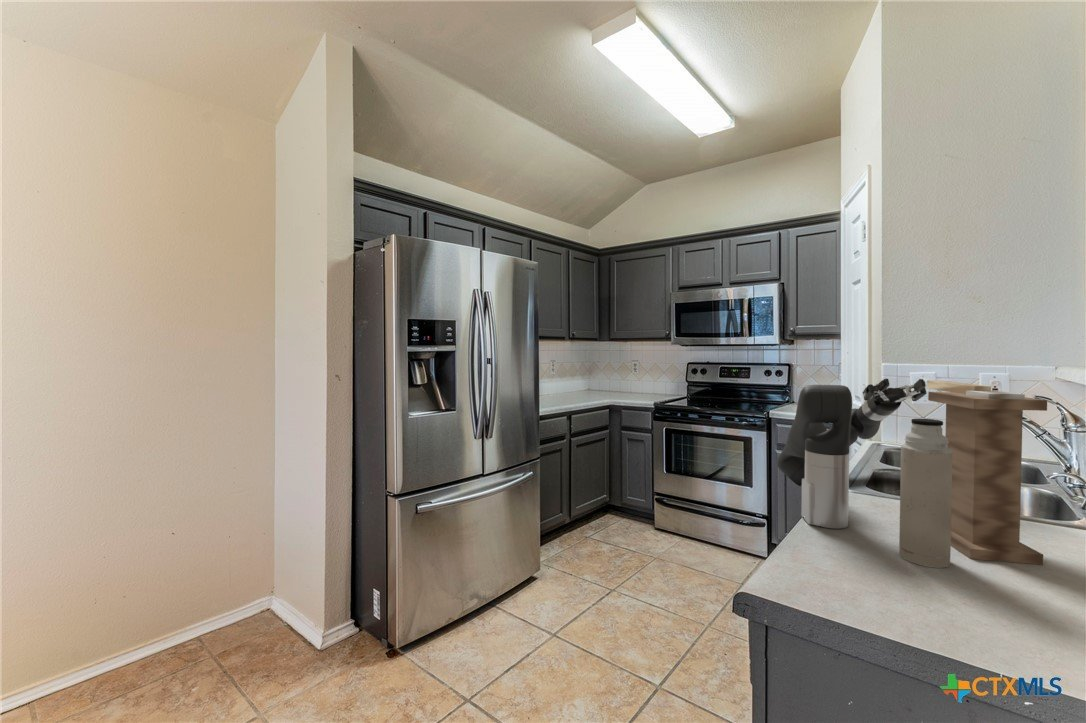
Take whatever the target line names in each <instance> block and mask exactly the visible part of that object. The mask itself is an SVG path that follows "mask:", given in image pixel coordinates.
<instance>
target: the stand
mask: <svg viewBox="0 0 1086 723" xmlns="http://www.w3.org/2000/svg"><path fill="white" fill-rule="evenodd" d="M927 394H928V395H927V396H928V397H927V401H929V402H934V403H939V404H940V403H941V404H945V433H944V434H945V435H944V436H945V437H947V438H948V441H949V443H948V448H949V449H951V450H952V452H953V453H952V501H951V548H953V549H955V550H956V551H957V552H959V553H961V554H962V555H964V556H966V557H967V558H968V559H969V560H980V561H982V560H983V561H994V562H1004V563H1005V562H1007V563H1018V564H1029V565H1031V564H1032V565H1041V566H1043V565H1044V554H1043V553H1041V552H1040V551H1038V550H1036V549H1034V548H1032V547H1030V546H1028V545H1026V544H1024V543H1023V542H1020V539H1021V538H1020V535H1021V532H1020V529H1021V500H1022V499H1021V497H1022V496H1021V495H1022V494H1021V493H1022V491H1021V490H1022V459H1023V458H1022V456H1023V455H1022V453H1023V452H1022V451H1023V416H1024V415H1023V414H1024V411H1040V412H1041V411H1048V400H1047V399H1041V398H1033V397H1025V399H987V398H980V397H973V396H967V395H966V394H961V393H954V392H947V391H928V393H927Z"/></svg>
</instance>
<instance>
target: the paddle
mask: <svg viewBox="0 0 1086 723" xmlns="http://www.w3.org/2000/svg"><path fill="white" fill-rule="evenodd" d="M926 389H929V390H935V391H939V392H954V393H961V394H966V395H967V396H973V397H980V398H987V399H1025V396H1026V395H1025V394H1024V393H1016V392H1009V391H1001V390H992V386H991V385H983V384H975V383H968V382H967V383H965V382H956V381H948V380H947V381H946V380H932V379H930V380H926Z"/></svg>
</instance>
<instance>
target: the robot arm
mask: <svg viewBox="0 0 1086 723" xmlns="http://www.w3.org/2000/svg"><path fill="white" fill-rule="evenodd" d="M926 387H927V383H926V381H925V380H924V378H919V379H917V381H915V383H913V384H912V385H902V386H899V387H890V381H889V379H888V378H884V379H882V380H880V381H879V383H875V385H873V384H868V385H867V386H866V387H865V389H863V390H862V396H863V400H864V402H863V403H862V404H861V405H860V406H859V407H858V408H857V407H856V408H853V396H852V392H851V390H850V388H849V387H848V386H846V385H841V384H809V385H805V386H803V388H802V389H801V390H800V393H799V395H798V400H797V407H796V410H795V417H794V420H793V422H792V423H791V427H790V429H789V432H788V434H787V439H786V441H785V445H784V447H783V448H782V449H781V452H780V454H779V456H778V457H777V460H776V466H777V467H778V469H779V471H780V472H782V473H783V474H784V475H785V476H786V477H787V478H788V479H790V480H791V481H792V482H793V483H794V484H796V485H797V486H799V487H801V507H800V508H801V510H800V511H801V517H802V518H803V517H804V516H805V517H804V518H803V520H805V521H806V523H807V524H808V525H813V526H817V527H820V526H821V527H822V528H826V529H846V528H847V527H848V526H849V518H850V517H849V516H850V515H849V510H850V509H849V507H850V506H849V504H850V503H849V499H850V497H849V494H850V446H851V445H853V444H855V442H857V440H858V438H860V439H861V440H869V439H872V438H873V437H874V436H875V435H876V434H878V432H879V429H880V427H881V423H882V421H883V420H884V419H887V418H888V417H890V415H893V414H894V412H895V411H897V410H898V409H899V408H900V407H901V404H902V402H903V401H906V400H907V399H911V401H912V402H917V401H919V400H920V399H922V398H923V397H924V396H926V395H927V394H928V393H927V390H926V389H927V388H926ZM912 389H913V390H912ZM825 424H832V425H831V427H830V428H829V429H827V427H826V426H825Z"/></svg>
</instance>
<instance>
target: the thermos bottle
mask: <svg viewBox="0 0 1086 723" xmlns="http://www.w3.org/2000/svg"><path fill="white" fill-rule="evenodd" d="M943 425H944V421H943V420H941V419H940V420H939V419H931V418H912V419H911V426H910V432H909V433H906V434H905V438H904V441H905V443H904V444H901V445H900V481H899V482H900V488H899V490H900V491H899V493H900V494H899V536H898V538H899V539H898V541H899V543H898V549H899V550H898V551H899V552H898V554H899V556H900V557H901V558H902V559H904V560H906V561H907V562H910V563H912V564H917V565H920V566H923V567H928V568H935V569H936V568H938V569H939V568H940V569H941V568H942V569H945V568H948V567H950V566H951V548H952V546H951V501H952V453H953V452H952V450H951V449H949V448H948V443H949V441H948V438H947V437H945V435H943V427H942V426H943Z"/></svg>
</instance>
